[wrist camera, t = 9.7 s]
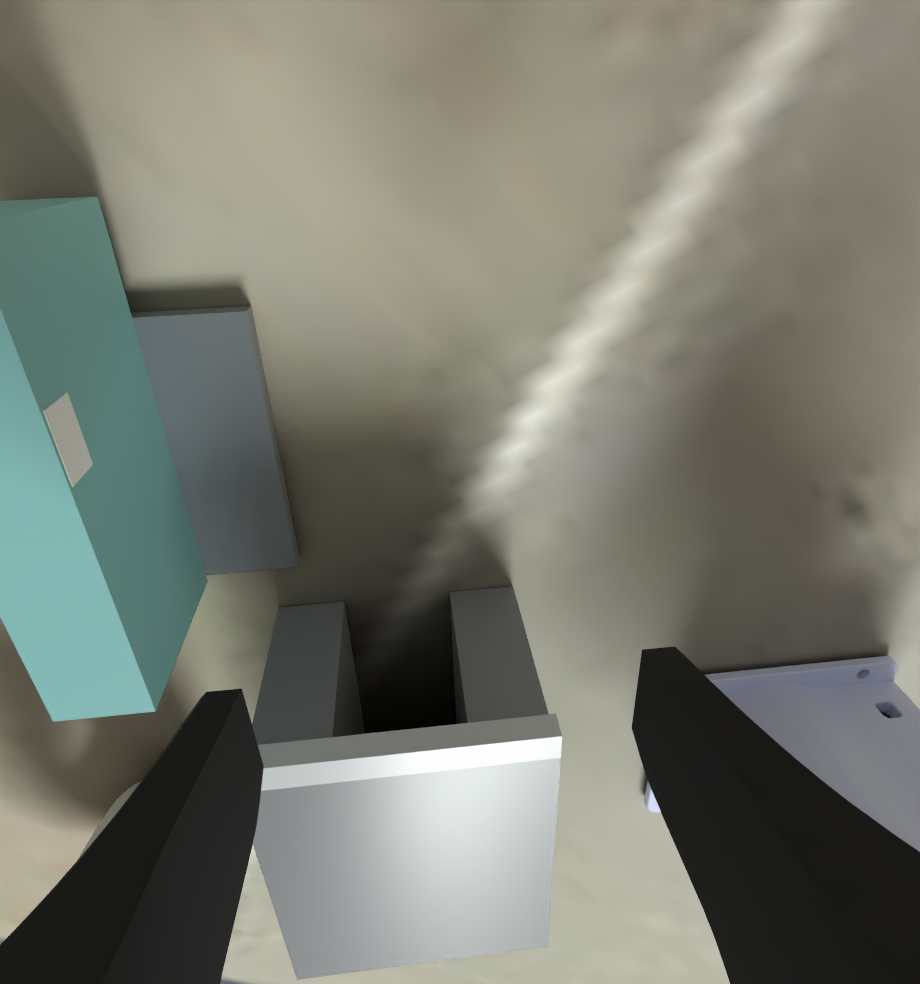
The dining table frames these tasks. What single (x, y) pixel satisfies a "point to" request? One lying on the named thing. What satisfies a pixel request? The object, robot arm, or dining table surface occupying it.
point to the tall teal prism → (85, 475)
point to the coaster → (220, 435)
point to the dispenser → (406, 799)
